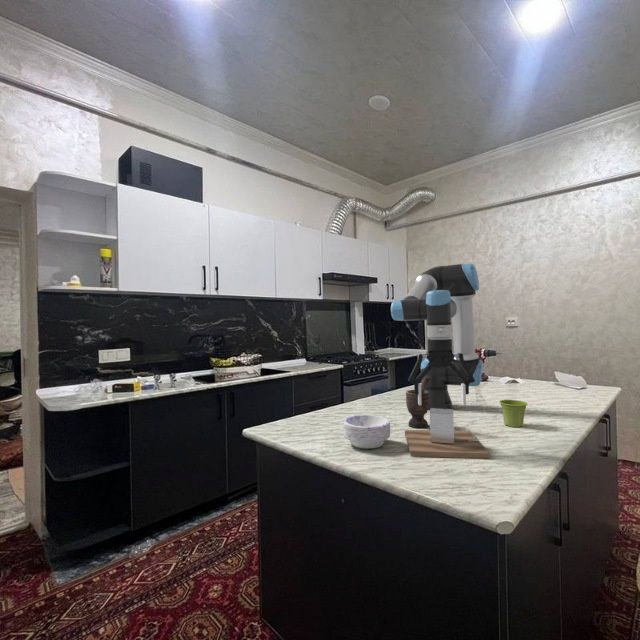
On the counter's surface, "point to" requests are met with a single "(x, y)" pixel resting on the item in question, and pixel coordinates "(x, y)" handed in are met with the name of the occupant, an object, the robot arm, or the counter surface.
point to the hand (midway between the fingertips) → (441, 404)
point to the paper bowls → (366, 430)
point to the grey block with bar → (441, 425)
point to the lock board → (445, 445)
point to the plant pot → (513, 412)
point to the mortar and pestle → (414, 407)
